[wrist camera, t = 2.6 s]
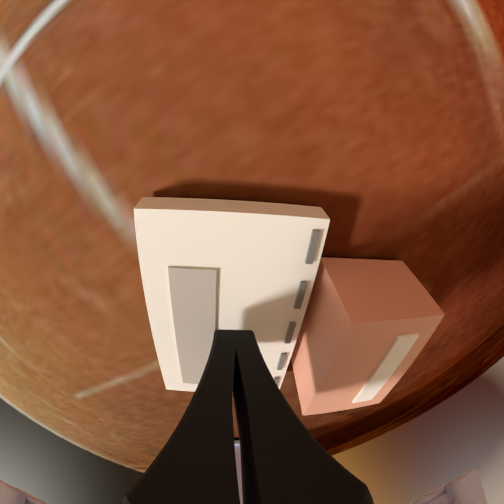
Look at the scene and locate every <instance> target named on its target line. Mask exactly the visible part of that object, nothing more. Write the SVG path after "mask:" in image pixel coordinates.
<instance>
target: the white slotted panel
mask: <svg viewBox="0 0 504 504" xmlns="http://www.w3.org/2000/svg"><path fill="white" fill-rule="evenodd" d="M134 219H135V229H136V238H137V247H138V255H139V262H140V269H141V276H142V282H143V288H144V294H145V300H146V305H147V310H148V316H149V321H150V325H151V330H152V335H153V339H154V344H155V348H156V352H157V356H158V360H159V364H160V368H161V372H162V375H163V379H164V383H165V386H166V389H168V390H180V391H194V392H195V391H196V388H197V386H198V384H199V382H200V379H201V377H202V374H203V371H204V369H205V366H206V363H207V361H208V357H209V354H210V351H211V347H212V342H213V337H214V331H215V330H217V329H223V330H252V331H253V332H254V335H255V338H256V341H257V344H258V346H259V349H260V352H261V354H262V356H263V358H264V361H265V363H266V365H267V367H268V369H269V371H270V373H271V375H272V377H273V379H274V381H275V382H276V384H277V386H278V388H279V389H280V387H281V384H282V382H283V379H284V376H285V373H286V370H287V367H288V364H289V361H290V359H291V356H292V353H293V350H294V347H295V344H296V340H297V337H298V334H299V331H300V328H301V325H302V322H303V318H304V315H305V312H306V308H307V305H308V302H309V298H310V295H311V291H312V288H313V284H314V281H315V277H316V274H317V270H318V266H319V262H320V259H321V255H322V251H323V247H324V243H325V239H326V235H327V231H328V227H329V223H330V218H329V217H328V216H327V214H326V213H325V212H324V210H323V209H322V208H321V207H315V206H304V205H293V204H281V203H268V202H254V201H239V200H221V199H199V198H168V197H142V199H141V200H140V201H139V202H138V204H137V205H136V206H135V208H134Z"/></svg>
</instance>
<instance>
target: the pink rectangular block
mask: <svg viewBox="0 0 504 504" xmlns="http://www.w3.org/2000/svg"><path fill="white" fill-rule="evenodd" d="M444 315H445V314H444V313H443V311H442V310H441V309H440V307H439V306H438V305H437V303H436V302H435V301H434V299H433V298H432V297H431V295H430V294H429V293H428V292H427V290H426V289H425V288H424V287H423V285H422V284H421V283H420V282H419V280H418V279H417V278H416V277H415V275H414V274H413V273H412V272H411V271H410V269H409V268H408V267H407V266H406V265H405V263H404V262H403V261H396V260H373V259H350V258H328V257H321V259H320V262H319V266H318V270H317V274H316V277H315V281H314V284H313V288H312V291H311V295H310V298H309V302H308V305H307V308H306V312H305V315H304V318H303V322H302V325H301V328H300V331H299V334H298V337H297V340H296V344H295V347H294V350H293V353H292V356H291V361H292V366H293V371H294V376H295V380H296V385H297V390H298V395H299V399H300V404H301V409H302V414H303V415H312V414H320V413H328V412H334V411H341V410H347V409H352V408H358V407H363V406H368V405H372V404H377V403H380V402H381V401H382V400H383V398H384V397H385V396H386V395H387V394H388V393H389V391H390V390H391V389H392V388H393V387H394V386H395V384H396V383H397V382H398V381H399V379H400V378H401V377H402V376H403V374H404V373H405V372H406V370H407V369H408V368H409V367H410V365H411V364H412V363H413V361H414V360H415V359H416V357H417V356H418V354H419V353H420V352H421V350H422V349H423V347H424V346H425V344H426V343H427V341H428V340H429V338H430V337H431V335H432V334H433V332H434V331H435V329H436V328H437V326H438V325H439V323H440V321H441V320H442V318H443V316H444Z"/></svg>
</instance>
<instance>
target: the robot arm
mask: <svg viewBox="0 0 504 504" xmlns="http://www.w3.org/2000/svg"><path fill="white" fill-rule="evenodd" d="M232 393H233V397H234V405H235V412H236V419H237V426H238V433H239V440H234V430H233V415H232ZM0 504H46V503H45V502H44V501H42V500H40V499H38V498H36V497H34V496H32V495H30V494H28V493H27V492H25V491H22V490H20V489H18V488H15V487H13V486H11V485H9V484H7V483H5V482H3V481H2V480H0ZM122 504H374V503H373V499H372V497H371V494H370V492H369V490H368V487H367V486H366V485H365V484H364V483H363V482H362V481H360V480H359V479H358V478H356V477H355V476H354V475H353V474H351V473H350V472H349V471H348V470H347V469H345V468H344V467H343V466H342V465H341V464H340V463H339V462H338V461H336V460H335V459H334V458H333V457H332V456H331V455H330V454H329V453H328V452H327V451H326V450H325V449H324V448H323V447H322V445H321V444H320V443H319V442H318V441H317V440H316V439H315V438H314V437H313V436H312V435H311V433H310V432H309V431H308V430H307V428H306V427H305V426H304V425H303V424H302V422H301V421H300V420H299V418H298V417H297V416H296V414H295V413H294V411H293V410H292V408H291V407H290V405H289V404H288V402H287V401H286V399H285V398H284V396H283V394H282V393H281V391H280V389H279V388H278V386H277V384H276V382H275V381H274V379H273V377H272V375H271V373H270V371H269V369H268V367H267V365H266V363H265V361H264V358H263V356H262V354H261V352H260V349H259V346H258V344H257V341H256V338H255V335H254V332H253V331H252V330H223V329H217V330H215V331H214V337H213V342H212V347H211V351H210V354H209V357H208V361H207V363H206V366H205V369H204V371H203V374H202V377H201V379H200V382H199V384H198V386H197V388H196V391H195V393H194V395H193V397H192V399H191V402H190V404H189V406H188V407H187V409H186V411H185V413H184V415H183V417H182V419H181V420H180V422H179V424H178V426H177V427H176V429H175V430H174V432H173V434H172V435H171V437H170V439H169V440H168V442H167V443H166V445H165V446H164V448H163V449H162V450H161V452H160V453H159V454H158V456H157V457H156V459H155V460H154V461H153V463H152V464H151V465H150V467H149V468H148V469H147V470H146V472H145V473H144V474H143V475H142V476H141V478H140V479H139V480H138V481H137V482H136V483H135V484H134V486H132V488H131V489H130V490H129V491H128V492H127V493H126V496H125V498H124V500H123V502H122ZM410 504H487V501H486V497H485V494H484V490H483V487H482V484H481V481H480V478H479V475H478V472H477V469H476V468H474V469H472V470H471V471H469V472H467V473H466V474H464V475H462V476H460V477H459V478H457V479H455V480H453V481H450V482H448V483H446V484H444V485H442V486H440V487H438V488H436V489H435V490H433V491H431V492H429V493H427V494H426V495H425V496H424V497H423V498H421V499H419V500H416V501H414V502H413V503H410Z"/></svg>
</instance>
